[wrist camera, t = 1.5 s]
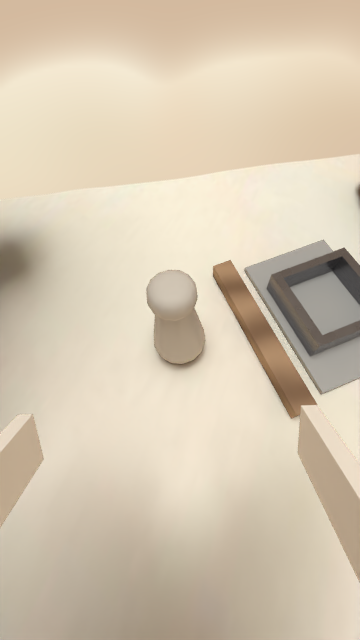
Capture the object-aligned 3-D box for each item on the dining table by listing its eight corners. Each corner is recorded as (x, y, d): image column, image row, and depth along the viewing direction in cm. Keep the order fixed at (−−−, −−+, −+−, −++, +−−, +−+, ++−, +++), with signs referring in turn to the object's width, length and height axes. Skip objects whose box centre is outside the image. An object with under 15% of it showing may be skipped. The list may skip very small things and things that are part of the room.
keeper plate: (244, 270, 40) (248, 253, 36) (321, 242, 41) (332, 223, 38) (320, 394, 32) (334, 385, 28) (414, 354, 33) (437, 341, 30)
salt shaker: (180, 316, 37) (171, 246, 26) (214, 345, 35) (221, 283, 23) (146, 347, 35) (120, 287, 24) (180, 380, 33) (169, 331, 22)
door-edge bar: (212, 275, 40) (213, 266, 38) (229, 269, 40) (230, 260, 38) (291, 418, 31) (296, 415, 29) (311, 409, 31) (318, 405, 29)
